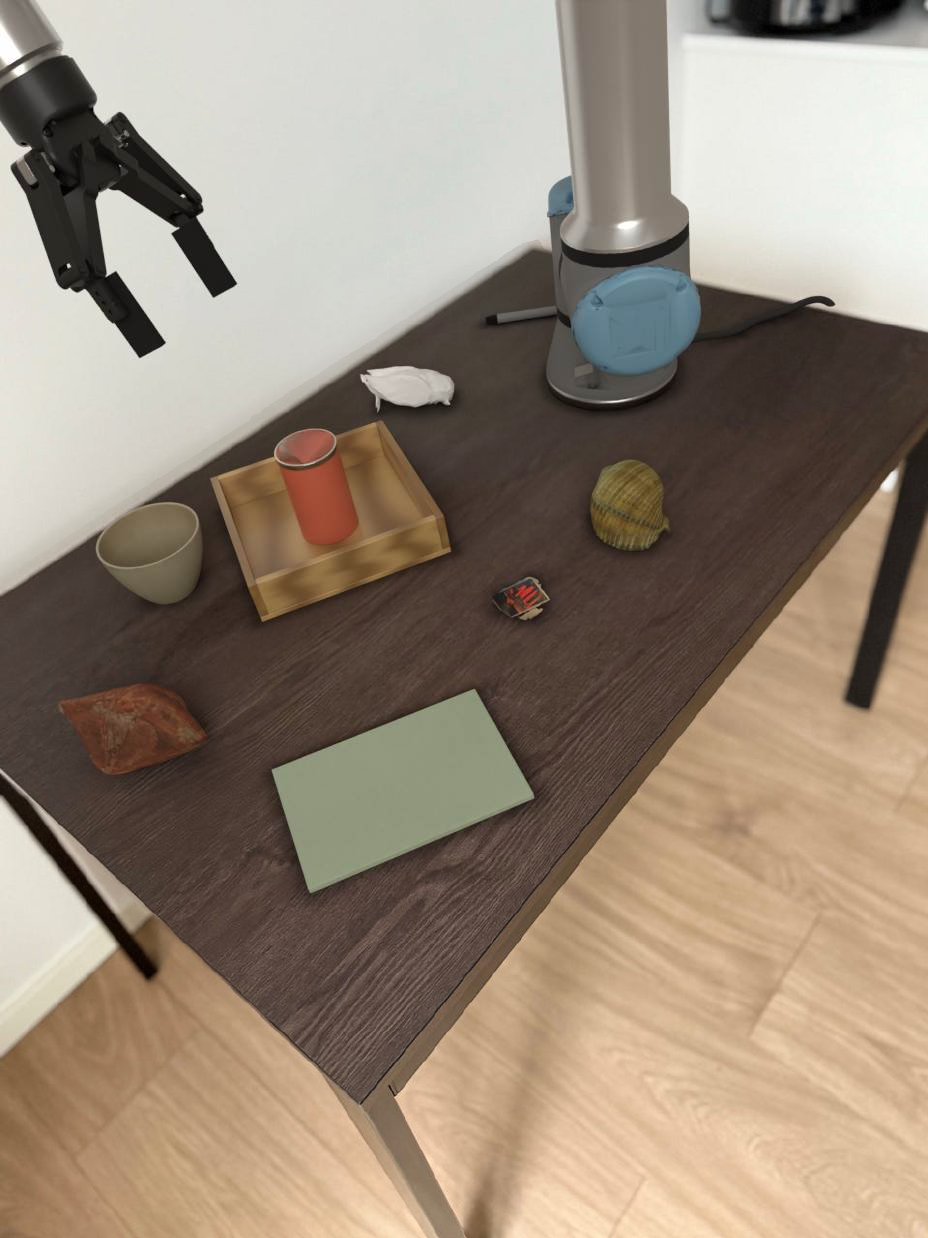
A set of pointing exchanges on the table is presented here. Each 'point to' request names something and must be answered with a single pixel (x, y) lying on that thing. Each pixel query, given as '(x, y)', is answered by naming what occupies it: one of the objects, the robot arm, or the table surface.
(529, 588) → the matchbox
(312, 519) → the cylinder
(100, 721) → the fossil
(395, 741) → the mat
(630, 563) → the table surface
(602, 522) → the seashell
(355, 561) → the wooden box
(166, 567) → the beige bowl
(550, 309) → the pen
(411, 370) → the bird figurine
